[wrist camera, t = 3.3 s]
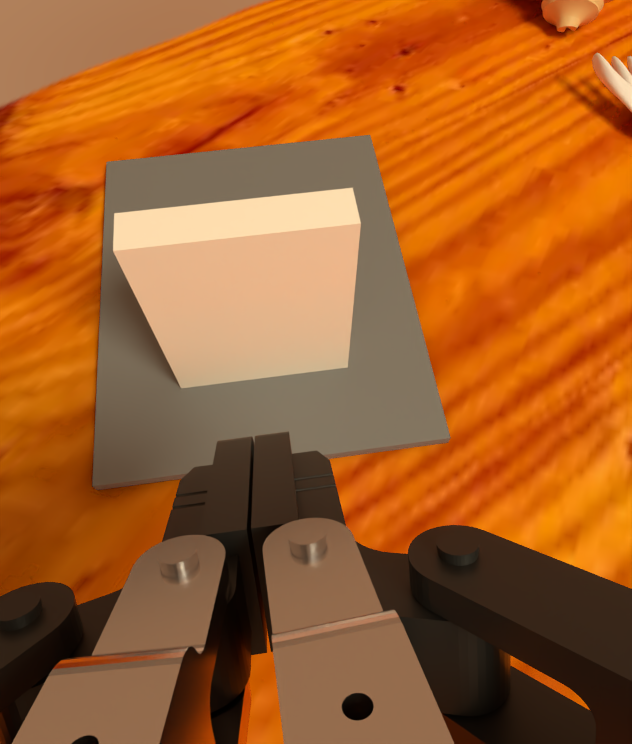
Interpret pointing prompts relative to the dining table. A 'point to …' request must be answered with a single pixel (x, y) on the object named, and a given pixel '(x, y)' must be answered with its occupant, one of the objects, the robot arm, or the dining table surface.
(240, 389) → the mat
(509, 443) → the dining table surface
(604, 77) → the spoon
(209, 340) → the tile
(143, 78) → the dining table surface
